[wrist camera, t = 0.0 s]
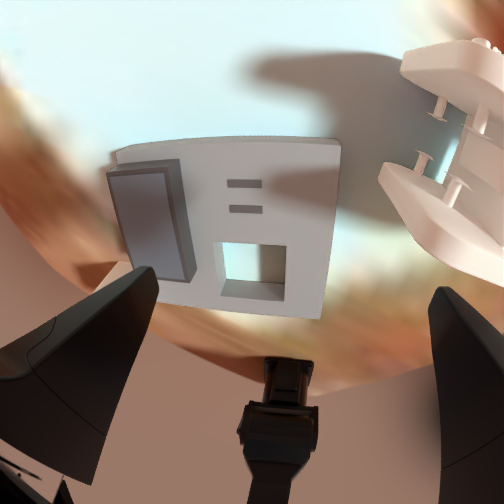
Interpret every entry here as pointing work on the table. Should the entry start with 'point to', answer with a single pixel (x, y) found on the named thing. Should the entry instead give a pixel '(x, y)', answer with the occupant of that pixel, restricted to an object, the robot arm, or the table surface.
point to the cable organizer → (458, 161)
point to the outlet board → (254, 217)
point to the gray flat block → (154, 217)
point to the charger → (115, 273)
